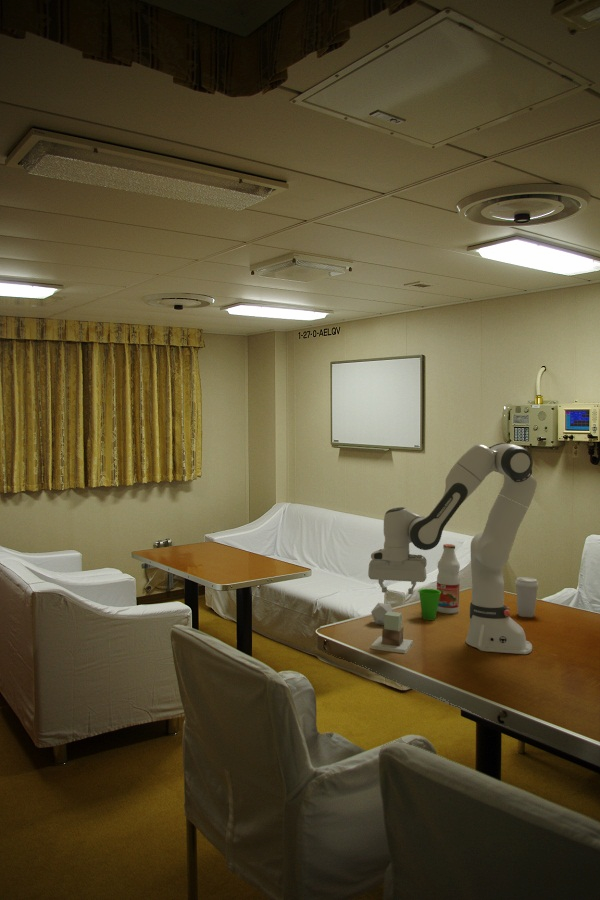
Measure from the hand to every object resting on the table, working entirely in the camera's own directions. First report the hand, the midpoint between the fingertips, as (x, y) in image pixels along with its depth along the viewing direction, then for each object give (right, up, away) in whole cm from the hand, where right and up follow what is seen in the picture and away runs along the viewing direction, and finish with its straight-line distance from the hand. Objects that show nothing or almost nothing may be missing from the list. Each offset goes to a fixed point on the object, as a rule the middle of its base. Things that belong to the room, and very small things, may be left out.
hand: (397, 593), depth 237 cm
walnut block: (-2, -17, -3) cm, 17 cm away
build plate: (-2, -18, -2) cm, 18 cm away
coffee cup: (+60, -19, +43) cm, 76 cm away
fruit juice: (+28, -18, +47) cm, 58 cm away
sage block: (-2, -12, -3) cm, 12 cm away
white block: (-2, -18, +25) cm, 31 cm away
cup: (+18, -18, +35) cm, 43 cm away
